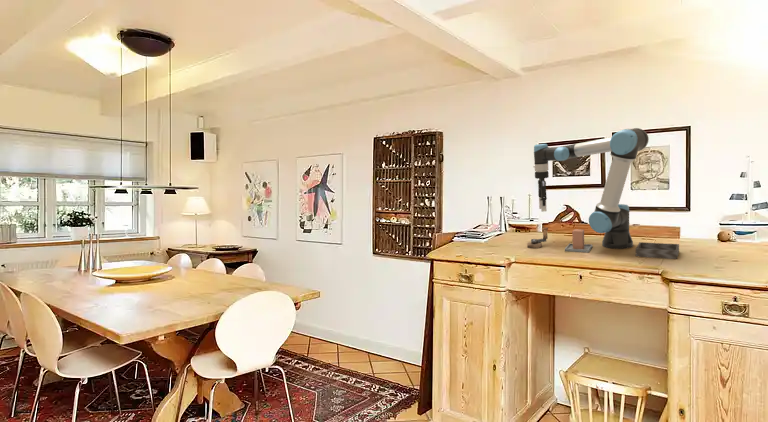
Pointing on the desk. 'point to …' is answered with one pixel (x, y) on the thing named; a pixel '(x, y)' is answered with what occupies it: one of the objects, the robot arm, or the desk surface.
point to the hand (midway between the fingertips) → (542, 209)
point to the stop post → (578, 238)
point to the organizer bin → (657, 250)
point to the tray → (586, 248)
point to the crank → (543, 237)
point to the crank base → (534, 245)
